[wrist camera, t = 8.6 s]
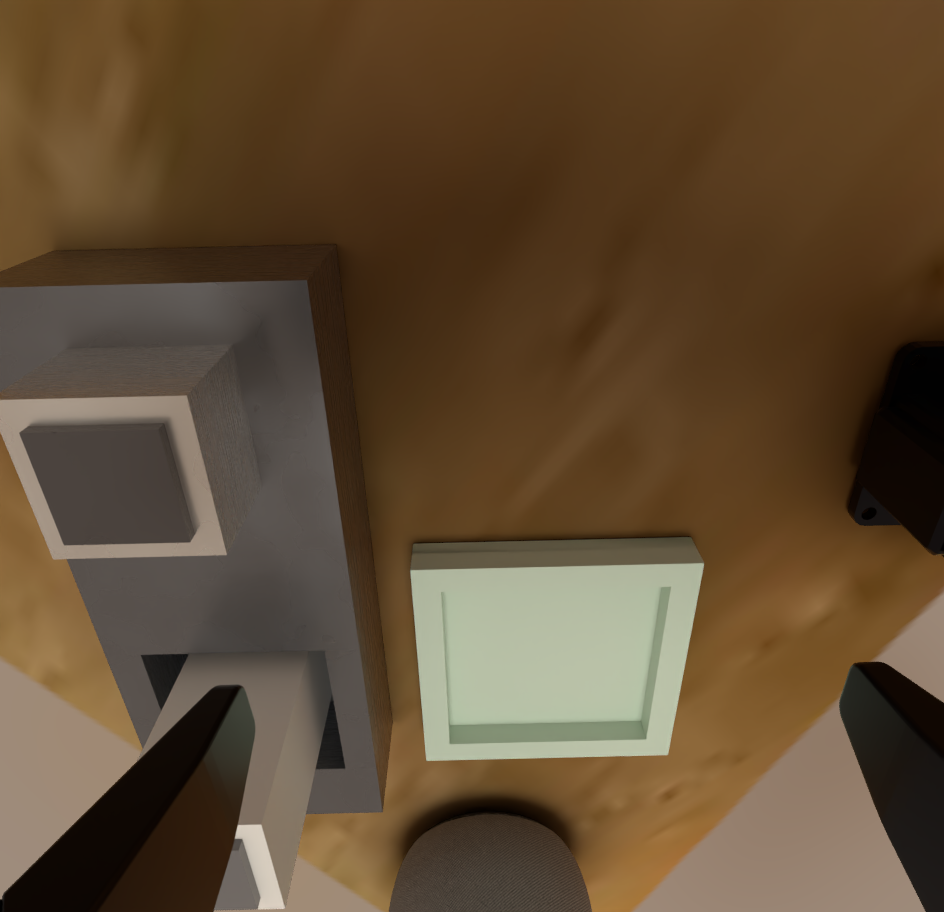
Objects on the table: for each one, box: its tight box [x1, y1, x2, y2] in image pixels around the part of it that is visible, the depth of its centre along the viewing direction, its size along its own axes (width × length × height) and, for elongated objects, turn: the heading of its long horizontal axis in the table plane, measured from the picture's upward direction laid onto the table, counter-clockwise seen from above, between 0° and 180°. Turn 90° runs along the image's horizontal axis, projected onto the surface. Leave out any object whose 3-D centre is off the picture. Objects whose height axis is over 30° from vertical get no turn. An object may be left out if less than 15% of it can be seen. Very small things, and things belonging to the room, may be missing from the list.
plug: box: [137, 650, 332, 910], centre depth 21 cm, size 4×4×8 cm
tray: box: [410, 537, 704, 761], centre depth 25 cm, size 10×10×2 cm
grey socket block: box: [0, 244, 393, 814], centre depth 20 cm, size 20×8×7 cm, turn 1°
